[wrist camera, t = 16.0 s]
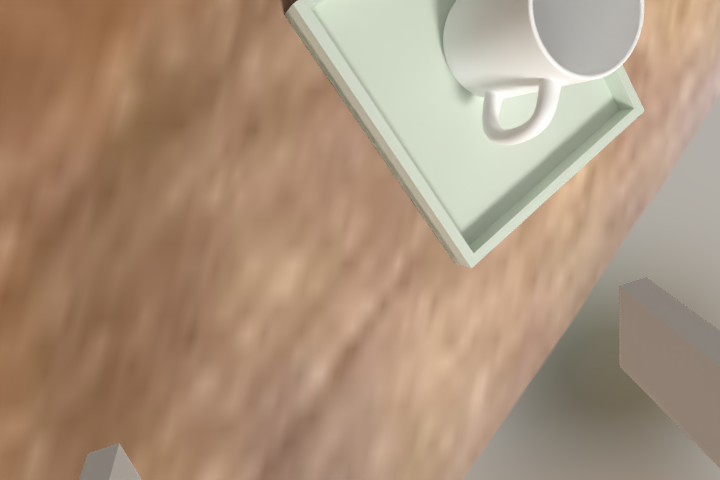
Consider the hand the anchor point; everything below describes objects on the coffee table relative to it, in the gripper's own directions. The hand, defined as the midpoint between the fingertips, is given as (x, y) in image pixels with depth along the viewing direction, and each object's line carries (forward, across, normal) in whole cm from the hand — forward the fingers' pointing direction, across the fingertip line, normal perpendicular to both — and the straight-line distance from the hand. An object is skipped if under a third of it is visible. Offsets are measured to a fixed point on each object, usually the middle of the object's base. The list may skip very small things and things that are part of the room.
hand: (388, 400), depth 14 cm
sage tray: (+30, +14, +1) cm, 33 cm away
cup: (+29, +15, +1) cm, 32 cm away
